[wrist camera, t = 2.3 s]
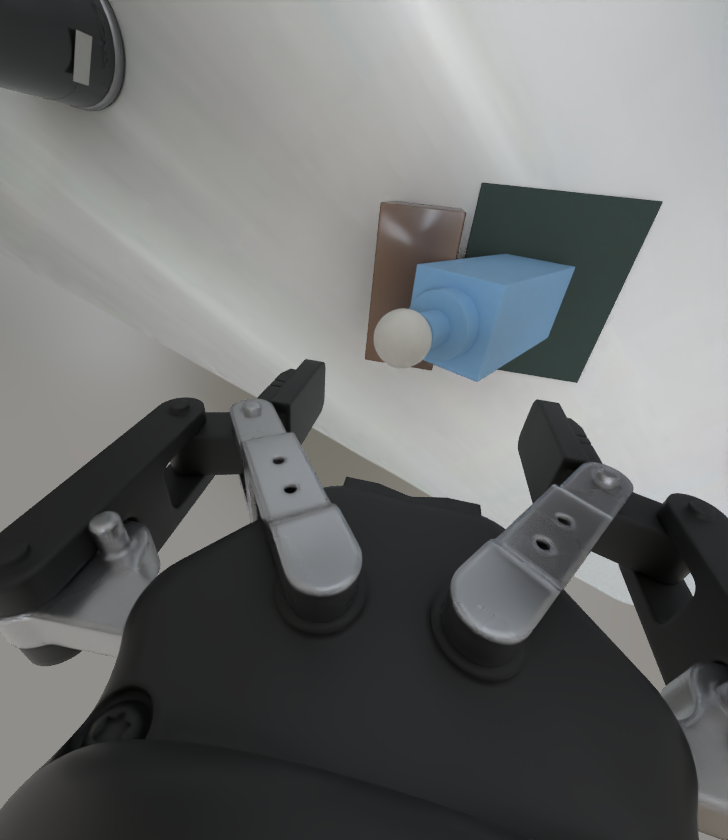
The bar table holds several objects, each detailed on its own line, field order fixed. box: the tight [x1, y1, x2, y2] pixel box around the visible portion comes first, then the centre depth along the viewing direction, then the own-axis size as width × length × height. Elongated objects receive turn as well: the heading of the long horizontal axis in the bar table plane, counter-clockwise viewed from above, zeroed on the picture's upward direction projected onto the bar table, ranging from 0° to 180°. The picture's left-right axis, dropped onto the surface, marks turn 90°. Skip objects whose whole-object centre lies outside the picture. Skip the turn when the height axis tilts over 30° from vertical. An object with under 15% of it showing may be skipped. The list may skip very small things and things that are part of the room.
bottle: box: [374, 254, 575, 382], centre depth 26 cm, size 14×6×19 cm, turn 85°
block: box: [365, 201, 466, 370], centre depth 31 cm, size 6×12×8 cm, turn 175°
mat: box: [465, 183, 662, 383], centre depth 33 cm, size 14×16×1 cm
